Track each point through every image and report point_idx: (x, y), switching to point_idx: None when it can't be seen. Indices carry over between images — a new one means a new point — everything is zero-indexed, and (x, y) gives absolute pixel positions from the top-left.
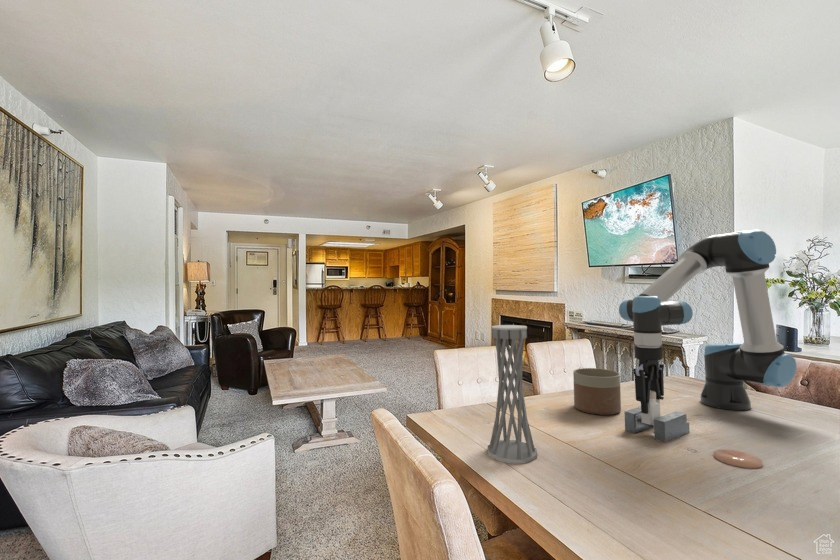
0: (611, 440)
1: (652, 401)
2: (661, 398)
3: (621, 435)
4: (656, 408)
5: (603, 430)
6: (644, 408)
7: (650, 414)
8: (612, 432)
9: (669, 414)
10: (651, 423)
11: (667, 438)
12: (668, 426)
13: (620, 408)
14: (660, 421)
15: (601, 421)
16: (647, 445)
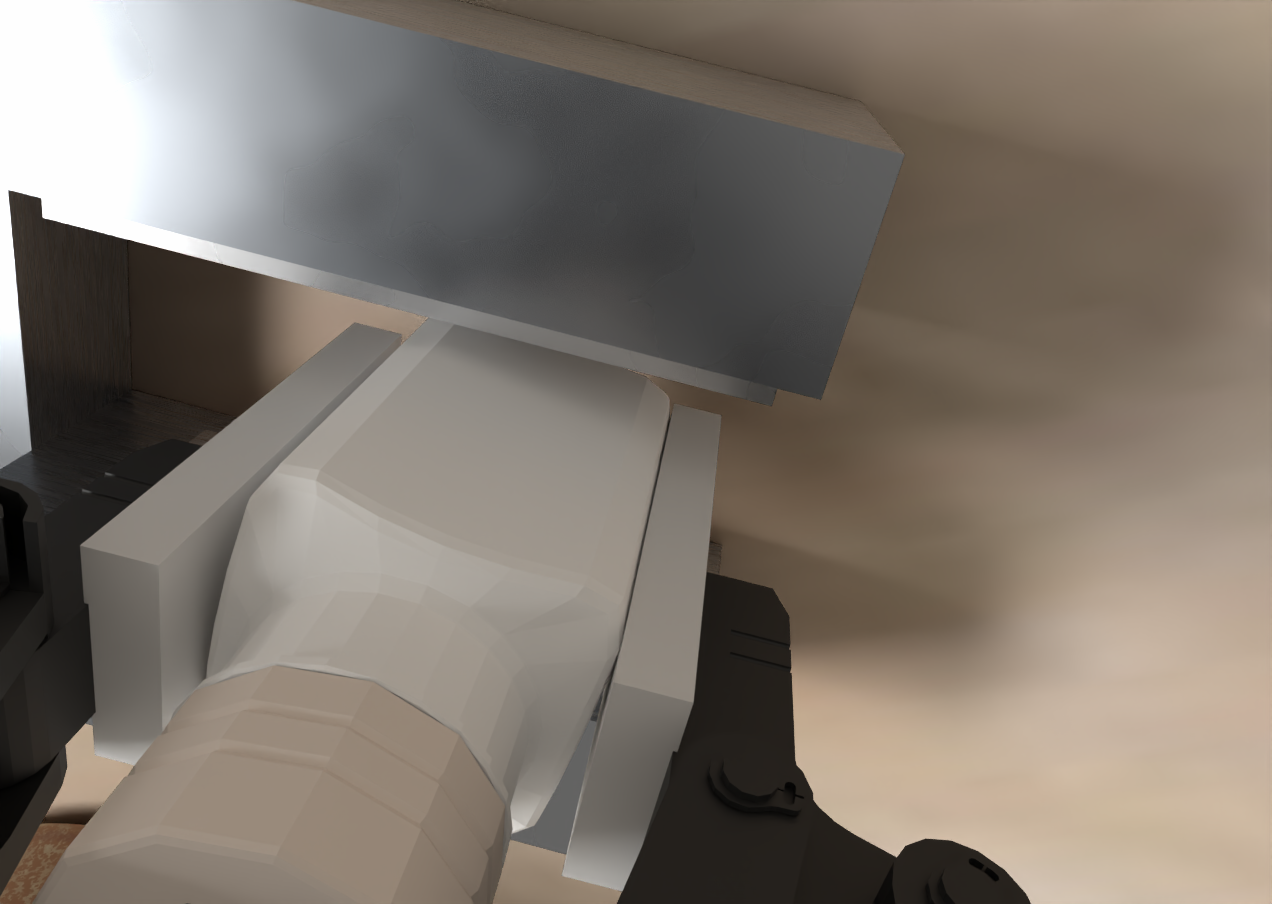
0: (1212, 706)
1: (482, 677)
2: (33, 528)
3: (919, 652)
4: (491, 481)
5: (862, 834)
6: (785, 700)
7: (703, 513)
8: (869, 750)
9: (189, 203)
10: (686, 416)
11: (782, 88)
12: (732, 93)
13: (27, 851)
14: (865, 254)
15: (542, 899)
16: (1159, 298)
